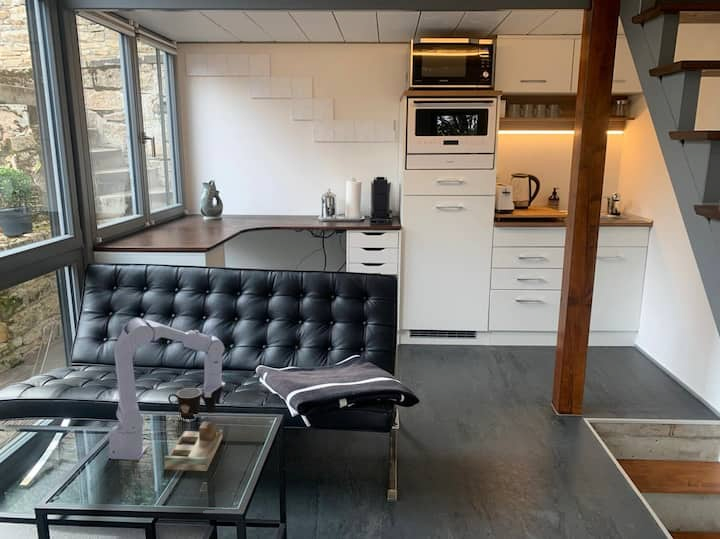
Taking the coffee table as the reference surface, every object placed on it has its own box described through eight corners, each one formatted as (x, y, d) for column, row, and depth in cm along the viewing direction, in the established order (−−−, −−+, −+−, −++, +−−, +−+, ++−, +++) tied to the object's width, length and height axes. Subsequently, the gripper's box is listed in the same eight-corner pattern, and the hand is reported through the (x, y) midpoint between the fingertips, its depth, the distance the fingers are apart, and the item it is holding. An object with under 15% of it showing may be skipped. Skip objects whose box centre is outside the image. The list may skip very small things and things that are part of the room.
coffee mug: (206, 417, 201) (206, 392, 199) (188, 426, 194) (187, 400, 192) (185, 408, 207) (185, 383, 205) (166, 416, 200) (166, 391, 198)
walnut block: (199, 440, 181) (199, 428, 180) (203, 433, 185) (202, 421, 184) (212, 441, 181) (212, 428, 180) (216, 434, 185) (216, 422, 184)
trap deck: (164, 469, 167) (164, 457, 166) (184, 436, 187) (184, 425, 186) (206, 470, 167) (206, 459, 167) (222, 438, 187) (222, 427, 186)
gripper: (219, 380, 179) (219, 418, 181) (229, 363, 193) (229, 399, 196) (198, 379, 179) (198, 417, 181) (209, 362, 193) (209, 398, 195)
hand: (213, 407), depth 188 cm, fingers open, 6 cm apart
